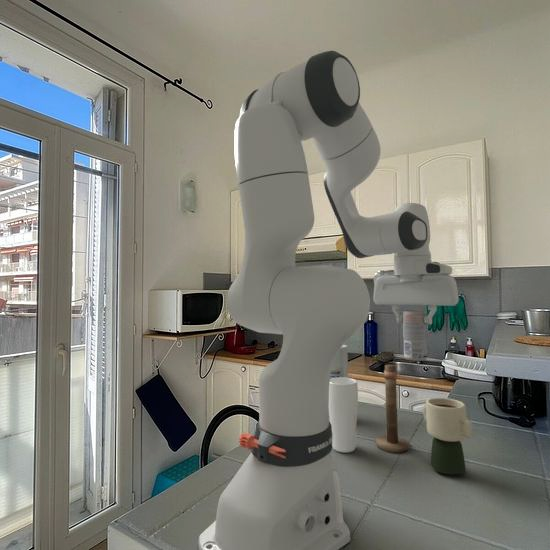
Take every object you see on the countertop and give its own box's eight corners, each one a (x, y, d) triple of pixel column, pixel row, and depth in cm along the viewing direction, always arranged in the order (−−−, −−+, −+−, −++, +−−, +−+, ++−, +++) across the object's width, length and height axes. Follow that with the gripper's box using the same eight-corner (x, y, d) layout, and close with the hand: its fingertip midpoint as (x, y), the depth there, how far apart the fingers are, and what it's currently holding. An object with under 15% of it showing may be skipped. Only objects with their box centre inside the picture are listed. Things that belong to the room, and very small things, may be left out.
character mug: (486, 479, 65) (483, 408, 65) (460, 488, 62) (457, 413, 63) (438, 455, 75) (435, 393, 75) (412, 461, 72) (410, 397, 73)
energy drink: (422, 357, 90) (421, 310, 91) (430, 361, 85) (428, 311, 85) (401, 357, 90) (399, 310, 91) (407, 361, 85) (406, 311, 86)
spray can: (321, 419, 97) (320, 346, 98) (332, 412, 102) (330, 343, 103) (342, 423, 93) (341, 348, 94) (353, 416, 98) (351, 345, 100)
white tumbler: (357, 457, 74) (355, 385, 75) (325, 452, 76) (324, 383, 77) (360, 444, 81) (359, 378, 81) (331, 440, 83) (330, 376, 84)
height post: (402, 456, 74) (399, 370, 75) (371, 447, 79) (369, 366, 80) (413, 445, 80) (411, 365, 81) (384, 437, 84) (381, 361, 85)
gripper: (368, 270, 93) (369, 322, 92) (452, 265, 80) (454, 326, 79) (378, 271, 98) (379, 321, 97) (459, 267, 85) (461, 324, 84)
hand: (414, 323), depth 88 cm, fingers closed on energy drink, 5 cm apart
